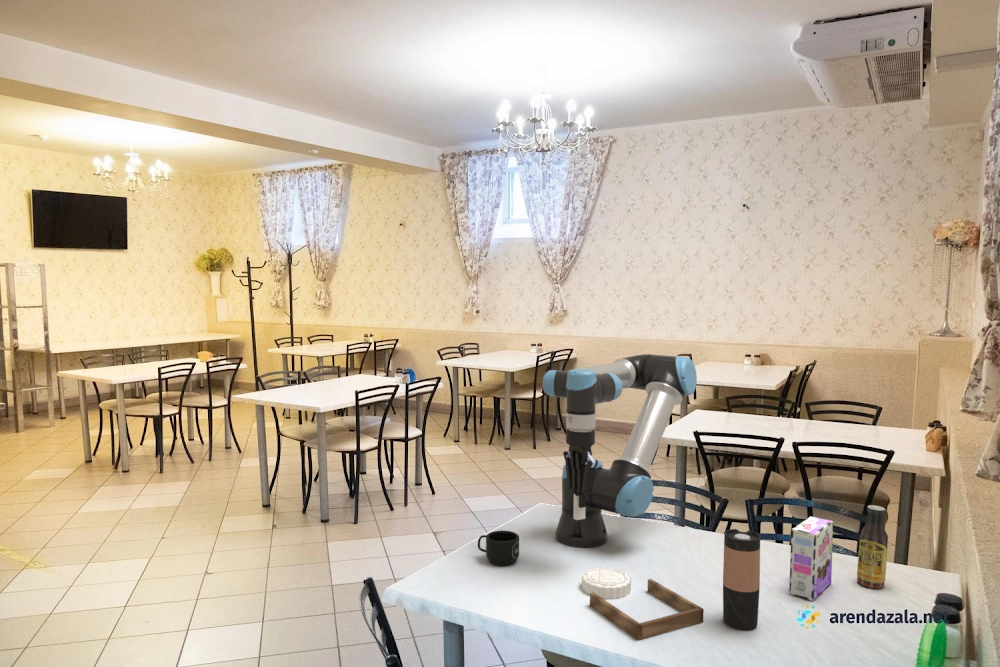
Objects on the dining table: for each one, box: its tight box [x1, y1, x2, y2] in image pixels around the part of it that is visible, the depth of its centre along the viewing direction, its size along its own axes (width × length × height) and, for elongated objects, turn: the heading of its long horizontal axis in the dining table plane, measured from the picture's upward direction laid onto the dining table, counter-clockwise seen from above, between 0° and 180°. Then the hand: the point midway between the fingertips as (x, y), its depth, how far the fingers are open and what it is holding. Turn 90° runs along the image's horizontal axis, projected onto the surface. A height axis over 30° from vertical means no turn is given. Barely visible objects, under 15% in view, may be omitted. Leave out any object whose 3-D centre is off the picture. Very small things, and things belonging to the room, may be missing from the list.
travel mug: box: [722, 528, 761, 632], centre depth 152 cm, size 8×8×20 cm
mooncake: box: [581, 567, 632, 600], centre depth 170 cm, size 12×12×4 cm
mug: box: [477, 530, 520, 566], centre depth 187 cm, size 12×9×7 cm
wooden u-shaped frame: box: [589, 578, 705, 641], centre depth 156 cm, size 18×18×3 cm
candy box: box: [788, 516, 834, 602], centre depth 169 cm, size 14×6×16 cm, turn 137°
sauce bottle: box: [856, 504, 889, 590], centre depth 172 cm, size 7×6×20 cm
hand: (579, 518), depth 179 cm, fingers closed
